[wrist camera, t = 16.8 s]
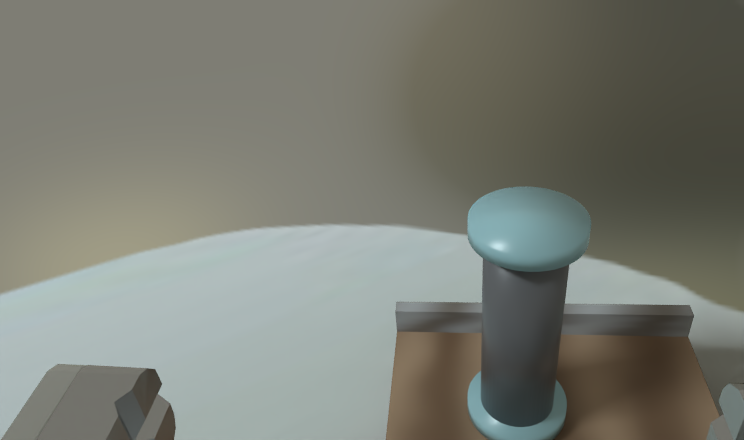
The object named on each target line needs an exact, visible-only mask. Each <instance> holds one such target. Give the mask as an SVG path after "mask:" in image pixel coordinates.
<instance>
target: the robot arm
mask: <svg viewBox="0 0 744 440" xmlns="http://www.w3.org/2000/svg"><path fill="white" fill-rule="evenodd" d="M161 385H162V383H161V381H160V378H159V376H158V374H157V372H156V370H155V369H148V368H131V367H113V366H94V365H68V364H57V365H56V366H54V367H53V368H51V369H50V370H48V371H47V373H46V374H45V375H44V377H43V378H42V380H41V381H40V383H39V384H38V386H37V387H36V389H35V390H34V392H33V393H32V395H31V396H30V398H29V399H28V400H27V402H26V403H25V405H24V406H23V408H22V409H21V411H20V412H19V414H18V415H17V417H16V418H15V420H14V421H13V423H12V424H11V426H10V427H9V429H8V430H7V432H6V433H5V434H4V436H3V437H2V439H1V440H174V435H175V428H176V427H175V418H174V413H173V410H172V407H171V405H170V403H169V402H168V401H166V400H165V399H164V398H162V397H161V396H160V395H158V392H159V390H160V387H161ZM718 402H719V404H720V407H721V409H722V412H723V415H721V416H720V417H718V418H717V419H715V420H714V421H712V422H711V424H710V428H709V431H708V435H707V438H706V440H744V383H729V384H728V385H726V386H725V387H724V388H723V390H722V392H721V395H720V398H719V401H718Z"/></svg>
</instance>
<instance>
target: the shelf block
mask: <svg viewBox="0 0 744 440" xmlns="http://www.w3.org/2000/svg"><path fill="white" fill-rule="evenodd" d="M693 317H694V314H693V312H692V310H691V307H690V305H628V304H565V305H564V314H563V323H562V331H561V340H560V349H559V357H558V366H557V375H556V380H557V381H558V382H559V384H560V385H561V386H562V388H563V390H564V392H565V395H566V399H567V409H566V417H565V422H564V426H563V428H562V430H561V431H560V433H559V434H558V435H557V436H556V437H555V438H554V439H553V440H706V438H707V435H708V431H709V428H710V424H711V422H712V421H714V420H715V419H717V418H718V417H720V416H719V413H718V411H717V408H716V406H715V403H714V401H713V398H712V396H711V393H710V391H709V388H708V386H707V383H706V381H705V378H704V376H703V373H702V371H701V368H700V366H699V363H698V361H697V358H696V356H695V353H694V351H693V348H692V346H691V343H690V340H689V338H688V335H689V332H690V328H691V324H692V321H693ZM396 323H397V338H396V348H395V357H394V367H393V376H392V386H391V395H390V405H389V415H388V424H387V434H386V440H488V439H487V438H486V437H484V436H483V435H482V434H481V433H480V432H479V431H478V430H477V429H476V428H475V426H474V425H473V423H472V422H471V419H470V417H469V413H468V389H469V385H470V383H471V381H472V380H473V378H474V377H475V376H476V375H477V374H478V373H479V372H480V371H481V341H482V303H459V302H396Z"/></svg>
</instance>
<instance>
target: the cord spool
mask: <svg viewBox="0 0 744 440" xmlns="http://www.w3.org/2000/svg"><path fill="white" fill-rule="evenodd" d="M590 229H591V219H590V216H589V214H588V212H587V211H586V209H585V208H584V207H583V206H582V205H581V204H580V203H579V202H577V201H576V200H574V199H573V198H571V197H569V196H567V195H565V194H562V193H560V192H557V191H553V190H549V189H545V188H538V187H512V188H506V189H501V190H497V191H494V192H491V193H489V194H487V195H485V196H483V197H481V198H480V199H479V200H477V201H476V202H475V203H474V204H473V205H472V207H471V209H470V210H469V213H468V240H469V243H470V245H471V246H472V248H473V249H474V250H475V252H476V253H477V254H479V255H480V256H481V257H482V258H483V284H482V341H481V371H480V372H479V373H478V374H477V375H476V376H475V377H474V378H473V380H472V381H471V383H470V385H469V389H468V413H469V417H470V419H471V422H472V423H473V425H474V426H475V428H476V429H477V430H478V431H479V432H480V433H481V434H482V435H483V436H484V437H486V438H487V439H488V440H553V439H554V438H555V437H556V436H557V435H558V434H559V433H560V431H561V430H562V428H563V426H564V422H565V417H566V409H567V399H566V395H565V392H564V390H563V388H562V386H561V385H560V384H559V382H558V381H557V380H556V375H557V366H558V357H559V349H560V340H561V331H562V323H563V314H564V305H565V296H566V288H567V279H568V270H569V264H571V263H573V262H575V261H576V260H577V259H579V258H580V257H581V256H582V255H583V254H584V253H585V251H586V249H587V247H588V244H589V236H590Z"/></svg>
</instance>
